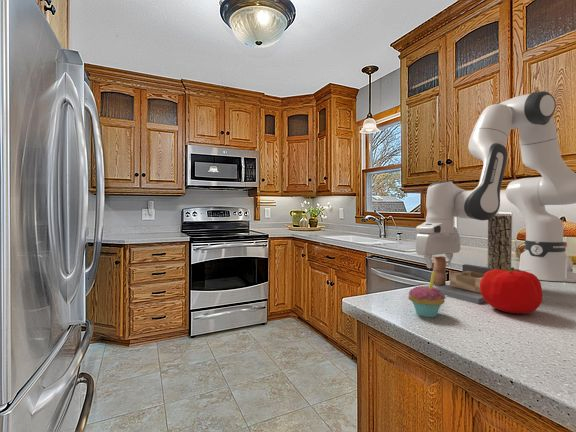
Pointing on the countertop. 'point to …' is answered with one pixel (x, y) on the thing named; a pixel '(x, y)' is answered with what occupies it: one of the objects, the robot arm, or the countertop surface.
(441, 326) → the countertop surface
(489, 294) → the tomato
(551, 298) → the countertop surface
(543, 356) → the countertop surface
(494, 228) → the wooden log
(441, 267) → the dowel
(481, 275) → the square wooden frame
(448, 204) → the robot arm
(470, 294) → the slate track
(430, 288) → the cupcake
